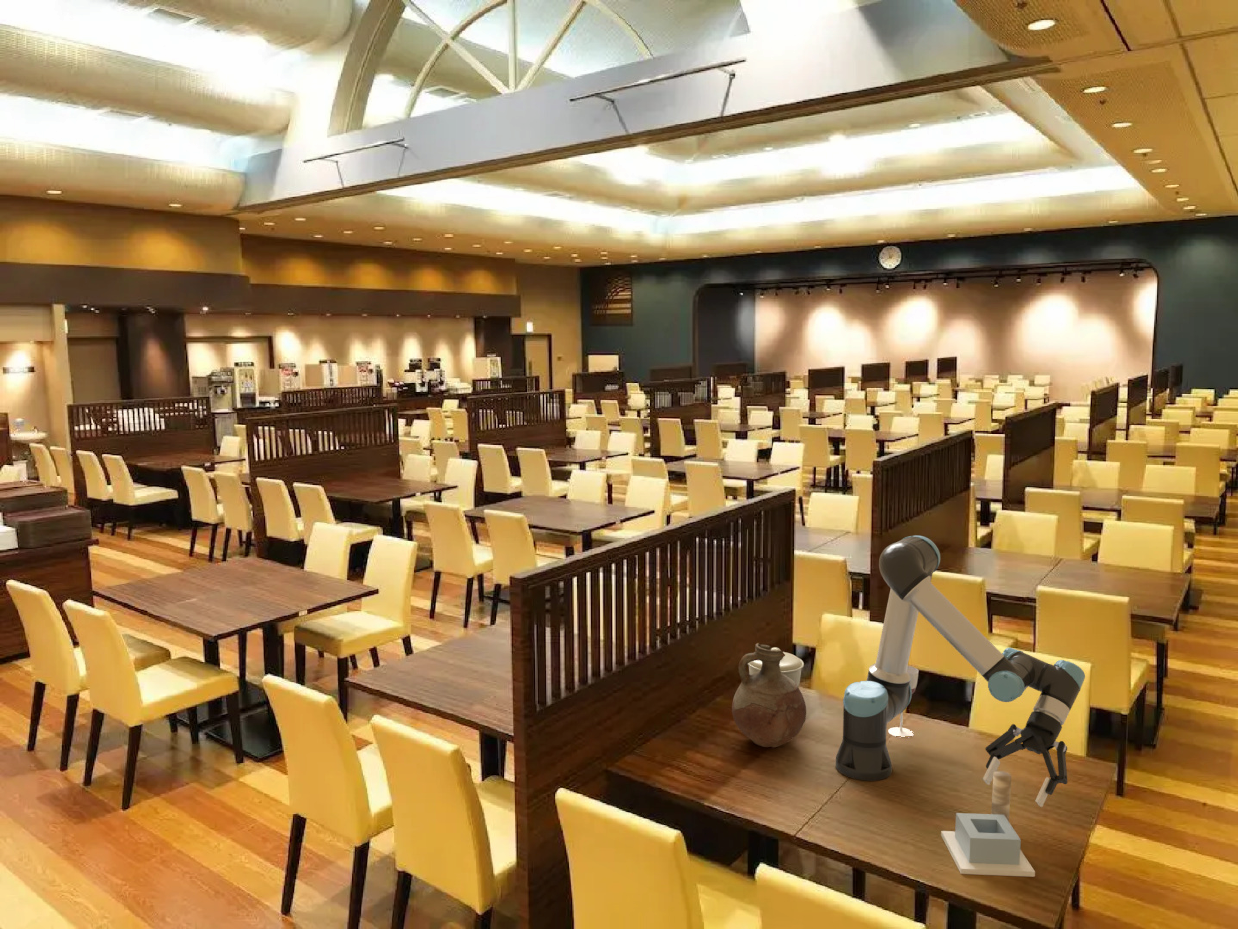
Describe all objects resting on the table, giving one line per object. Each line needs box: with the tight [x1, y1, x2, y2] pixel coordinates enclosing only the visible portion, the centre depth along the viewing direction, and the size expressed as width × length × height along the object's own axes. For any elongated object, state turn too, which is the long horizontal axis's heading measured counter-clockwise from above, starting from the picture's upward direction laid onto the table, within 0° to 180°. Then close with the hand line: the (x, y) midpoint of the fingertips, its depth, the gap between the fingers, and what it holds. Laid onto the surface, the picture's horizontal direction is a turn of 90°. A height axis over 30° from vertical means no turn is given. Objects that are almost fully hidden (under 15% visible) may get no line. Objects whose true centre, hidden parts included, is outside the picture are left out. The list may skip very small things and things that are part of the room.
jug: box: [731, 642, 807, 748], centre depth 267 cm, size 22×22×30 cm
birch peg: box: [990, 770, 1012, 823], centre depth 220 cm, size 4×4×14 cm
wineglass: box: [887, 665, 919, 738], centre depth 275 cm, size 8×9×20 cm
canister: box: [747, 646, 805, 687], centre depth 291 cm, size 18×18×21 cm
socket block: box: [940, 812, 1036, 877], centre depth 209 cm, size 16×16×7 cm
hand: (1011, 793), depth 220 cm, fingers open, 13 cm apart
